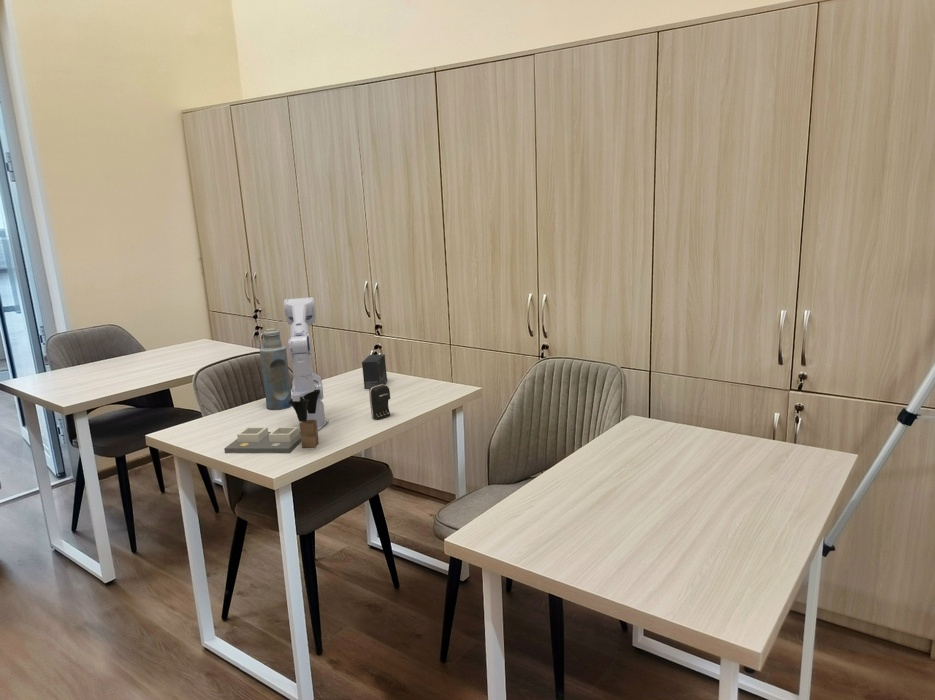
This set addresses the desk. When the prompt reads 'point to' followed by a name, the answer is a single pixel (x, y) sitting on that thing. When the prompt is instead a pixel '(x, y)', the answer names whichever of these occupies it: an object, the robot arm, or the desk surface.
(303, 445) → the walnut peg
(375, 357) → the small box
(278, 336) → the bottle
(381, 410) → the battery charger
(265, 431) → the socket board
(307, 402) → the robot arm
